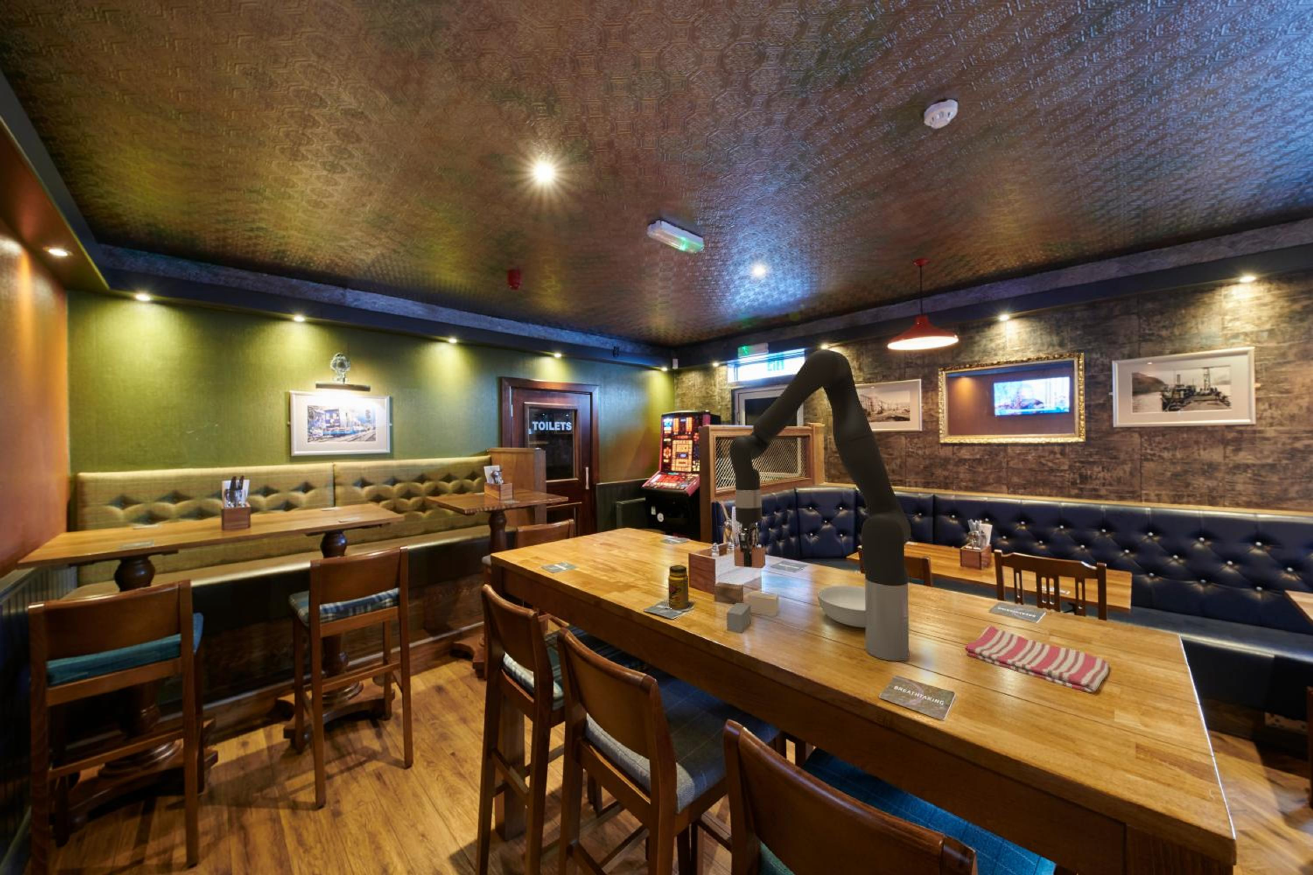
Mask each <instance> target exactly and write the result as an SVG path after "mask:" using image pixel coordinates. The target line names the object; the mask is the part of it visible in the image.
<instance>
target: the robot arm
mask: <svg viewBox="0 0 1313 875" xmlns="http://www.w3.org/2000/svg"><path fill="white" fill-rule="evenodd" d="M799 368H800V369H799V370H798V371H797V373H796V374H795V376H794V377H793V378H792V380H790V382H789V383H788V385H787V386H786V388H785V389H783V391H782V392H781V394H780V395H779V396H778V397H777V399H775V401H774V402H773V403H772V404H771V405H770V406H769V407H768V408H767V409H766V410H765V411H764V412H763V413H762V414H761V415H760V416H759V417H758V418H757V419H756V421H755V422H754V423H753V425H752V426H753V427H752V429H753V431H752V432H751V433H750V434H749V435H738V436H735V437H734V438H732V440H731V442H730V445H729V457H730V462H731V466H732V469H733V472H734V480H735V481H734V482H735V493H734V510H735V511H734V512H735V513H734V514H735V515H734V516H735V521H736V522H737V523H741V528H740V532H739V533H738V535H737V536H738V543H739V546H740V551H741V552H742V553H744V566H745V567H744V568H750V567H751V566H752V547H759V545H760V544H759V541H760V540H759V539H760V538H759V537H760V526H759V525H757V524H758V523H760V522H762V520H763V505H762V504H763V503H762V493H761V475H760V471H759V470H758V469H756V468H754V466H753V461H752V460H756V459H759V458H760V457H761V456H762V455H763V454H764V453H765V452H766V450H768V448H769V446H770V445H771V444H772V442H773V441H774V439H775V438H776V437H777V436H778V435H780V433H781V432H782V431H784V430H785V429H786V427H788V426H789V425H790V423H792V421H793V420H794V418H795V416H796V415H797V413H798V411H799V409H800V408H801V407H802V405H803V404H804V403H805V402H806V400H808V399H809V398H810V396H812V395H813V394H814V393H816V392H817V391H818V390H820V389H823V391H824V393H825V395H826V397H827V400H828V402H829V405H830V408H831V409H830V410H831V414H832V416H831V417H832V437H833V442H834V446H835V447H836V451H837V454H838V457H839V459H840V462H841V464H842V466H843V468H844V471H845V472H846V473H847V475H848V476H849V477H850V480H852V482H853V483H854V485H855V486H856V488H857V489H858V491H859V492H860V494H861V496H862V498H863V500H864V504H865V507H866V510H867V514H868V517H867V518H866V520H864V522H863V524H862V528H861V537H860V538H861V539H860V540H861V563H862V567H863V569H864V587H865V628H864V629H865V635H864V636H865V639H864V640H865V643H864V644H865V650H866V652H867V653H868V654H870V655H871V656H873V657H875V658H878V659H882V660H885V661H891V662H892V661H893V662H897V661H906V662H908V661H909V659H910V656H909V654H910V649H909V648H910V645H909V644H910V643H909V642H910V641H909V640H910V639H909V638H910V636H909V635H910V634H909V633H910V632H909V631H910V630H909V629H910V628H909V627H910V626H909V623H910V620H909V617H910V616H909V615H910V614H909V572H908V569H907V568H906V566H905V545H906V544H907V543H908V542H909V540H910V538H911V532H912V529H911V524H910V522H909V520H908V518H907V516H906V514H905V512H904V509H903V508H902V506H901V503H900V502H899V500H898V498H897V496H896V494H895V492H894V489H893V486H892V484H891V481H890V478H889V474H888V471H887V468H886V466H885V463H884V460H883V456H882V454H881V451H880V448H879V444H878V442H877V440H876V436H875V434H874V432H873V430H872V427H871V425H870V422H869V419H868V417H867V414H866V412H865V409H864V407H863V405H862V404H861V400H860V397H859V395H858V390H857V387H856V383H855V379H854V374H853V372H852V367H851V364H850V362H849V360H848V358H847V357H846V356H845V355H844V354H842V353H840V352H838V351H834V350H830V349H818V350H816V351H814V352H813V353H811V354H810V355H809V356H808V357H807V359H806V360H805V362H804V363H803V364H802V365H801V367H799ZM745 546H746V547H747V548H745Z"/></svg>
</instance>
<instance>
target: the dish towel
mask: <svg viewBox="0 0 1313 875" xmlns="http://www.w3.org/2000/svg"><path fill="white" fill-rule="evenodd" d="M964 650H965V651H966V652H967V656H968V657H970V658H972V659H973V658H974V659H979V660H980V661H983V662H986V663H988V664H992V665H995V666H998V667H1002V668H1005V669H1008V670H1012V671H1015V672H1018V673H1020V674H1023V675H1027V676H1031V677H1034V678H1038V679H1042V680H1045V681H1046V682H1050V683H1054V684H1057V685H1060V686H1063V687H1067V688H1070V689H1073V690H1077V691H1083V692H1087V693H1090V694H1091V693H1095V692H1096V691H1097V689H1098V688H1099V687H1100V685H1101V683H1102V681H1104V679H1105V678H1106V677H1107V675H1108V674H1109V668H1110V664H1109V663H1108V661H1107V660H1104V659H1102V658H1100V657H1099V656H1098V657H1097V656H1093V655H1091V654H1088V653H1085V652H1082V651H1079V650H1075V649H1072V648H1066V647H1059V646H1055V645H1050V644H1045V643H1043V642H1040V641H1035V640H1032V639H1027V638H1024V637H1023V636H1020V635H1018V634H1016V633H1011V632H1008V631H1004V630H1003V629H997V628H996V627H995V626H993V625H989V626H987V627H986V628H984V630H983V632H982V633H981V634H980V636H979V637H978V638H977V639H975V641H970V642H968V643H967V644H966V645H965V646H964Z"/></svg>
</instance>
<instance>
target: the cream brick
mask: <svg viewBox="0 0 1313 875" xmlns="http://www.w3.org/2000/svg"><path fill="white" fill-rule="evenodd" d="M779 597H780V596H779V595H778V594H773V593H766V592H759V591H750V593H748V595H747V604H748V605H751V614H756V615H762V616H763V615H764V616H770V617H777V615H778V614H779V612H780V610H779V608H780V607H779V605H780V603H779V602H780V601H779Z"/></svg>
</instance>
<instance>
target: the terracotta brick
mask: <svg viewBox="0 0 1313 875" xmlns="http://www.w3.org/2000/svg"><path fill="white" fill-rule="evenodd" d="M745 548H747V547H746V546H745ZM733 556H734V557H733V562H734V567H740V568H741V567H743V568H746V567H745V566H744V553H742V552H741V551H740V545H737V546H736V547H734V548H733ZM765 566H766V547H760V546H757V547H752V566H751V567H749V568H752V569H753V568H754V569H763V568H764V567H765Z"/></svg>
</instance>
